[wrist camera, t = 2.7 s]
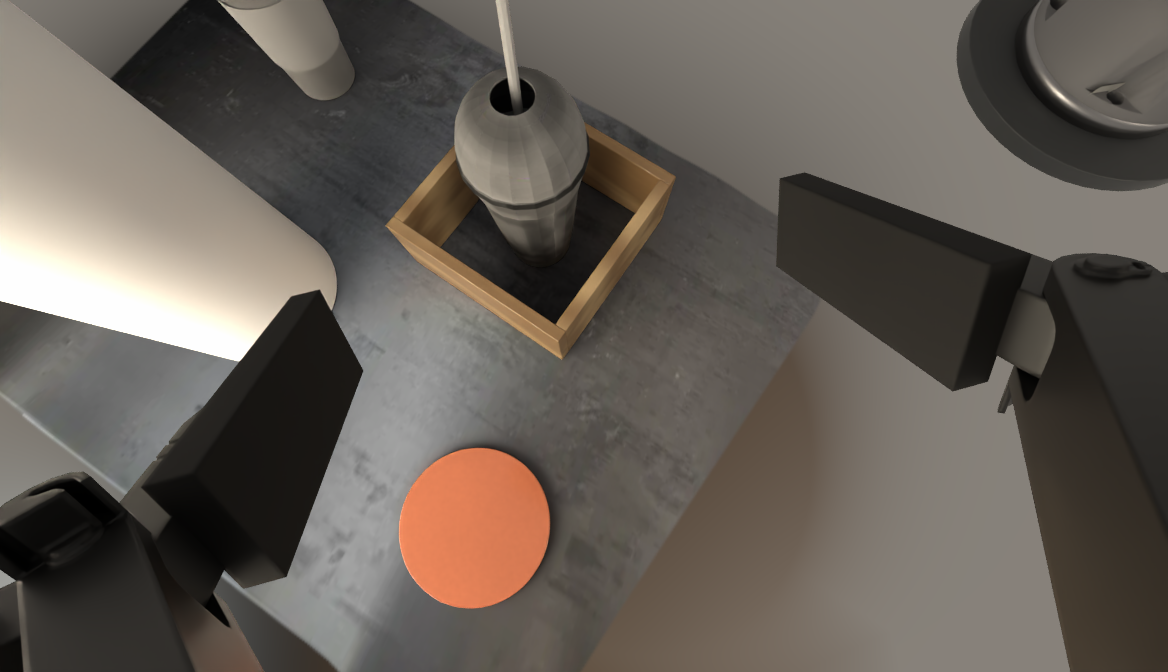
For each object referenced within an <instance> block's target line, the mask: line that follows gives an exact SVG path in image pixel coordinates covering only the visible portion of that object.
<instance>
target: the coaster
mask: <svg viewBox="0 0 1168 672" xmlns="http://www.w3.org/2000/svg"><path fill="white" fill-rule="evenodd" d="M550 525H551V524H550V511H549V505H548V501H547V498H546V495H545V492H544V490H543V488H542V486H541V484H540V482H539V481H538V479H537V477H536V476H535V475H534V474H533V472H532V471H531V470H530V469H529V468H528V467H527V466H526V465H525V464H524V463H522V462H521V461H520V460H518V459H517V458H515V457H513V456H511V455H509V454H508V453H505V452H502V451H499V450H495V449H490V448H468V449H463V450H459V451H456V452H453V453H450V454H448V455H446V456H444V457H442V458H440V459H439V460H437V461H436V462H434V463H433V464H432V465H431V466H429V467H428V468H427V469H426V470H425V471H424V472H423V473H422V474H421V475H420V476H419V478H418V479H417V480H416V482H415V483H414V484H413V486H412V488H411V490H410V491H409V493H408V495H407V498H406V500H405V502H404V505H403V509H402V512H401V517H400V524H399V539H400V547H401V552H402V556H403V559H404V561H405V564H406V567H407V568H408V570H409V572H410V574H411V576H412V577H413V578H414V580H415V581H416V583H417V584H418V585H419V586H420V587H421V588H422V589H423V590H424V591H425V592H427V593H428V594H429V595H430V596H432V597H433V598H435V599H437V600H439V601H440V602H443V603H445V604H448V605H451V606H455V607H460V608H481V607H486V606H491V605H493V604H496V603H499V602H501V601H503V600H505V599H507V598H509V597H510V596H512V595H513V594H515V593H516V592H518V591H519V590H520V589H521V588H522V587H523V586H524V585H525V584H526V583H527V582H528V581H529V580H530V579H531V577H532V576H533V575H534V573H535V572H536V570H537V569H538V567H539V565H540V563H541V561H542V559H543V557H544V554H545V551H546V548H547V545H548V541H549V536H550Z"/></svg>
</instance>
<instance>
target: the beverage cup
mask: <svg viewBox="0 0 1168 672" xmlns="http://www.w3.org/2000/svg"><path fill="white" fill-rule="evenodd" d="M496 6H497V13H498V18H499V25H500V32H501V38H502V44H503V51H504V58H505V64H506V67H505V68H502V69H499V70H496V71H493V72H490V73H489V74H487V75H486V76H484V77H483V78H481V79H480V80H478V81H477V82H476V83H475V84H474V85H473V86H472V88H471V89H470V90H469V91H468V92H467V94H466V95H465V96H464V98H463V100H462V102H461V105H460V108H459V111H458V113H457V116H456V119H455V137H454V143H455V152H456V163H457V166H458V169H459V171H460V174H461V177H462V180H463V181H464V182H465V183H466V184H467V186H468V187H469V188H470V189H471V190H472V191H473V193H474V194H475V195H477V196H478V197H479V198H480V199H481V200H482V201H483V202H484V204H485V205H486V207H487V208H488V210H489V212H490V213H491V215H492V217H493V218H494V220H495V222H496V224H497V225H498V227H499V229H500V230H501V232H502V234H503V235H504V237H505V239H506V241H507V242H508V244H509V246H510V247H511V248H512V249H513V251H514V252H515V254H516V255H517V256H518V258H519V259H520V260H521V261H523V262H524V263H526V264H528V265H531V266H535V267H547V266H550V265H553V264H555V263H557V262H558V261H559V260H561V259H562V258H563V257H564V255H565V254H566V252H567V251H568V247H569V244H570V239H571V236H572V231H573V224H574V217H575V209H576V202H577V195H578V189H579V186H580V183H581V180H582V177H583V175H584V174H585V171H586V167H587V164H588V160H589V157H590V149H589V136H588V134H587V131H586V129H585V124H584V121H583V118H582V116H581V113H580V111H579V109H578V107H577V105H576V102H575V101H574V99H573V98H572V96H571V95H570V94H569V93H568V92H567V91H566V90H565V89H564V88H563V87H562V86H561V84H560V83H559V82H557V81H556V80H555V79H553V78H552V77H549V76H548V75H546V74H544V73H542V72H541V71H538V70H535V69H531V68H526V67H522V66H521V67H517V61H516V53H515V45H514V38H513V31H512V23H511V15H510V8H509V1H508V0H496Z"/></svg>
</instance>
